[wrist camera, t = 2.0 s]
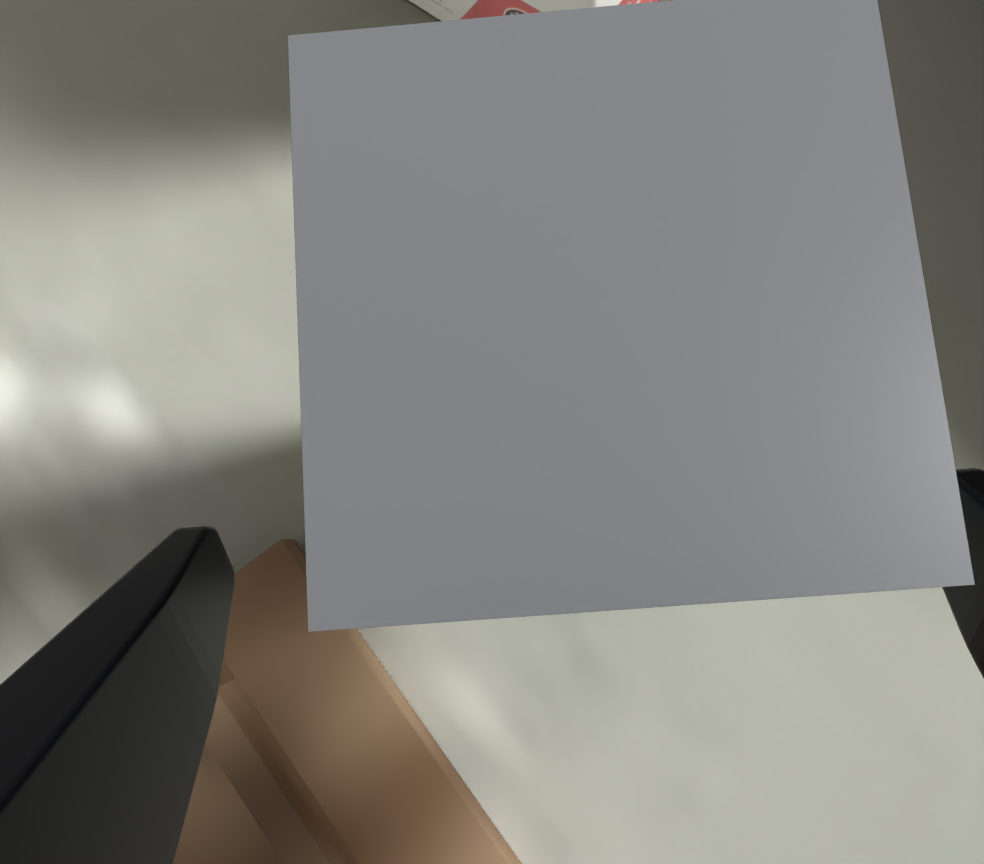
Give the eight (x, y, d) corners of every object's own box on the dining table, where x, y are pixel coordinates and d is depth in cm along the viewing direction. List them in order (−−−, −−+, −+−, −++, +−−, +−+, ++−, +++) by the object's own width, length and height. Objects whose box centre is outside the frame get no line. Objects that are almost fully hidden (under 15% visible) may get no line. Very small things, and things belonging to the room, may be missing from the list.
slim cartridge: (628, 550, 18) (984, 592, 4) (465, 561, 18) (300, 641, 4) (613, 390, 19) (880, -26, 5) (455, 402, 19) (280, 29, 5)
